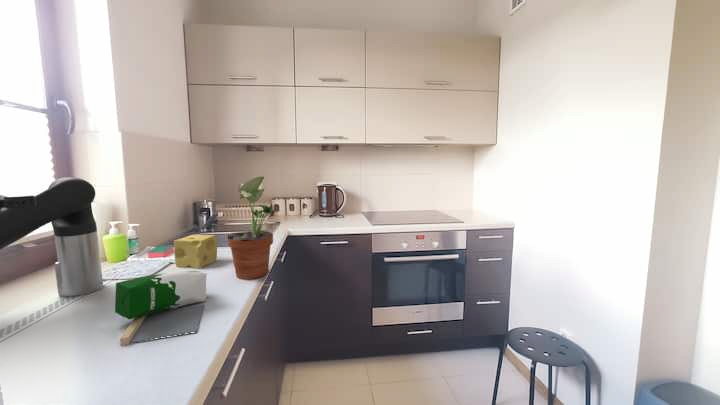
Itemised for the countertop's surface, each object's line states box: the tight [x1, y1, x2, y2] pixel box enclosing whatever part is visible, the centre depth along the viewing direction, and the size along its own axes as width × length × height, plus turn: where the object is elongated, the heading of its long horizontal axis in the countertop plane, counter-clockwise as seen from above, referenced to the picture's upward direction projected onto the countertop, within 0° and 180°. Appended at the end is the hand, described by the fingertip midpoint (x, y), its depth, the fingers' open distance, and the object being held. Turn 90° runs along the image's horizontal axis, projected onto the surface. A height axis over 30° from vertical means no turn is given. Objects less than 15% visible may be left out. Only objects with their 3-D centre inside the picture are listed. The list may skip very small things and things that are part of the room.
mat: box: [119, 304, 205, 346], centre depth 74 cm, size 14×14×2 cm
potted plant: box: [227, 176, 275, 281], centre depth 105 cm, size 16×15×35 cm
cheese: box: [173, 234, 218, 269], centre depth 118 cm, size 10×11×10 cm
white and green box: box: [114, 268, 207, 320], centre depth 81 cm, size 9×9×20 cm
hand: (35, 201), depth 63 cm, fingers closed
